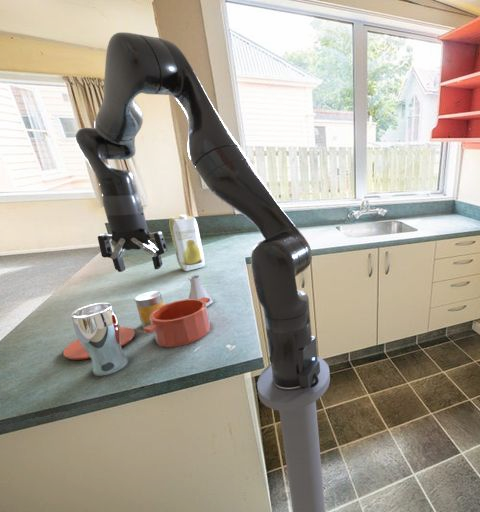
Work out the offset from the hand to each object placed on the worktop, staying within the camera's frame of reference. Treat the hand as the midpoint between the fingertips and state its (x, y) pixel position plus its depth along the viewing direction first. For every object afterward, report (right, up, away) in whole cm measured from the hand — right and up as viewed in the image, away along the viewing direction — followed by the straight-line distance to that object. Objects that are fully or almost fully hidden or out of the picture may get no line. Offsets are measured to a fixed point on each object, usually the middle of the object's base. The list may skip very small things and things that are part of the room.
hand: (140, 269), depth 82 cm
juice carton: (-18, -2, +51) cm, 54 cm away
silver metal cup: (+4, -22, -13) cm, 26 cm away
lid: (-6, -19, -5) cm, 20 cm away
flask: (+6, -13, +17) cm, 22 cm away
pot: (+12, -18, 0) cm, 22 cm away
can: (0, -16, +5) cm, 17 cm away
